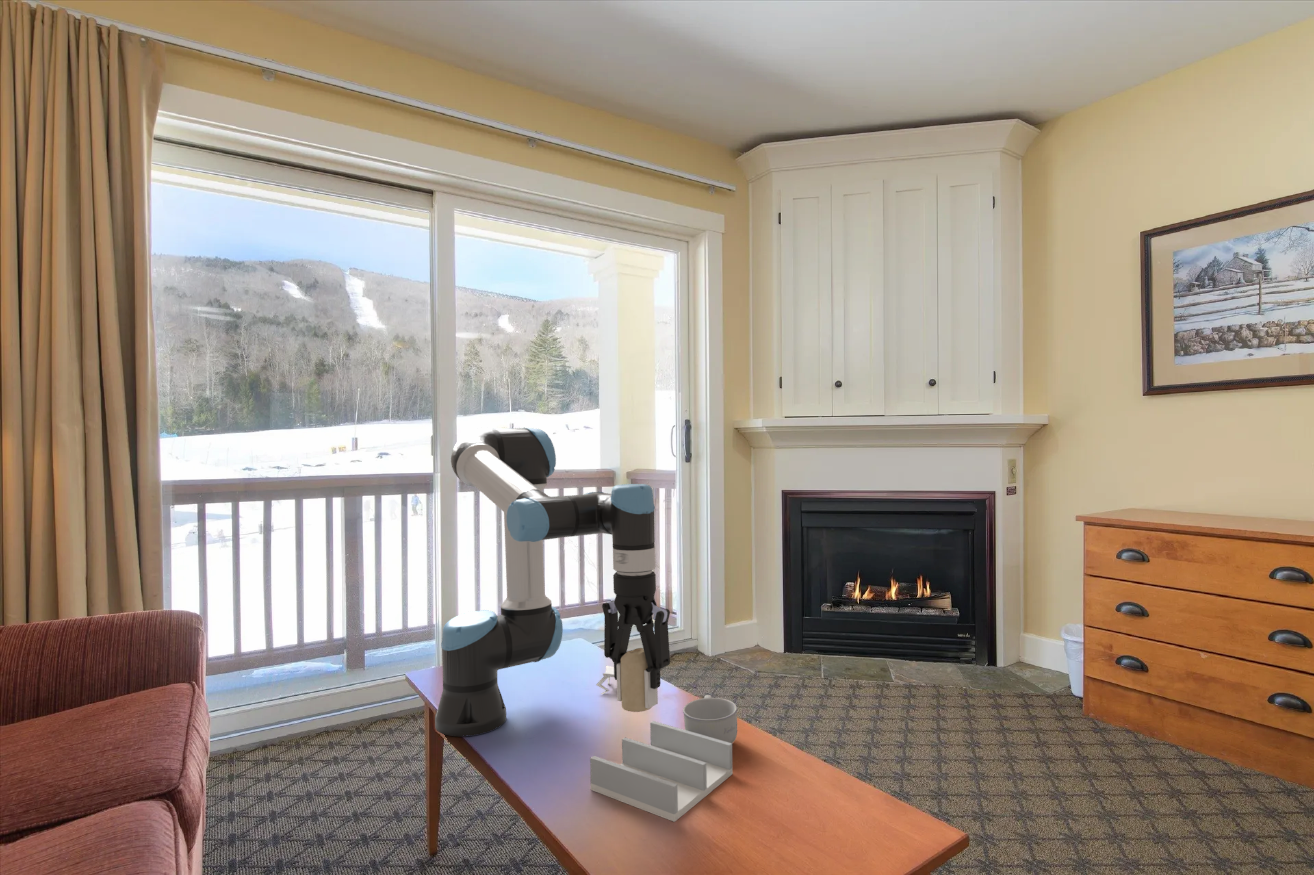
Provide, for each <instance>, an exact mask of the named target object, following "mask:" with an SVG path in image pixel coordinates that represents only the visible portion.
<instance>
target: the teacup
mask: <svg viewBox="0 0 1314 875" xmlns="http://www.w3.org/2000/svg"><path fill="white" fill-rule="evenodd" d="M737 712H738V706H737V705H736V703H734V702H733V701H731V700H728V699H725V698H719V697H713V696H712V695H710V694H706V695H704V697H703V698H698V699H695V700H692V701H690V702H688V703H687V704H686V705H684V706H683V707H682V713H683V720H684V730H687V731H690V732H694V733H697V734H701V735H704V736H708V737H711V738H715V739H718V740H722V741H725V742H729V743H732V744H734V742H735V741H736V738H737V735H738V715H737Z"/></svg>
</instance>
